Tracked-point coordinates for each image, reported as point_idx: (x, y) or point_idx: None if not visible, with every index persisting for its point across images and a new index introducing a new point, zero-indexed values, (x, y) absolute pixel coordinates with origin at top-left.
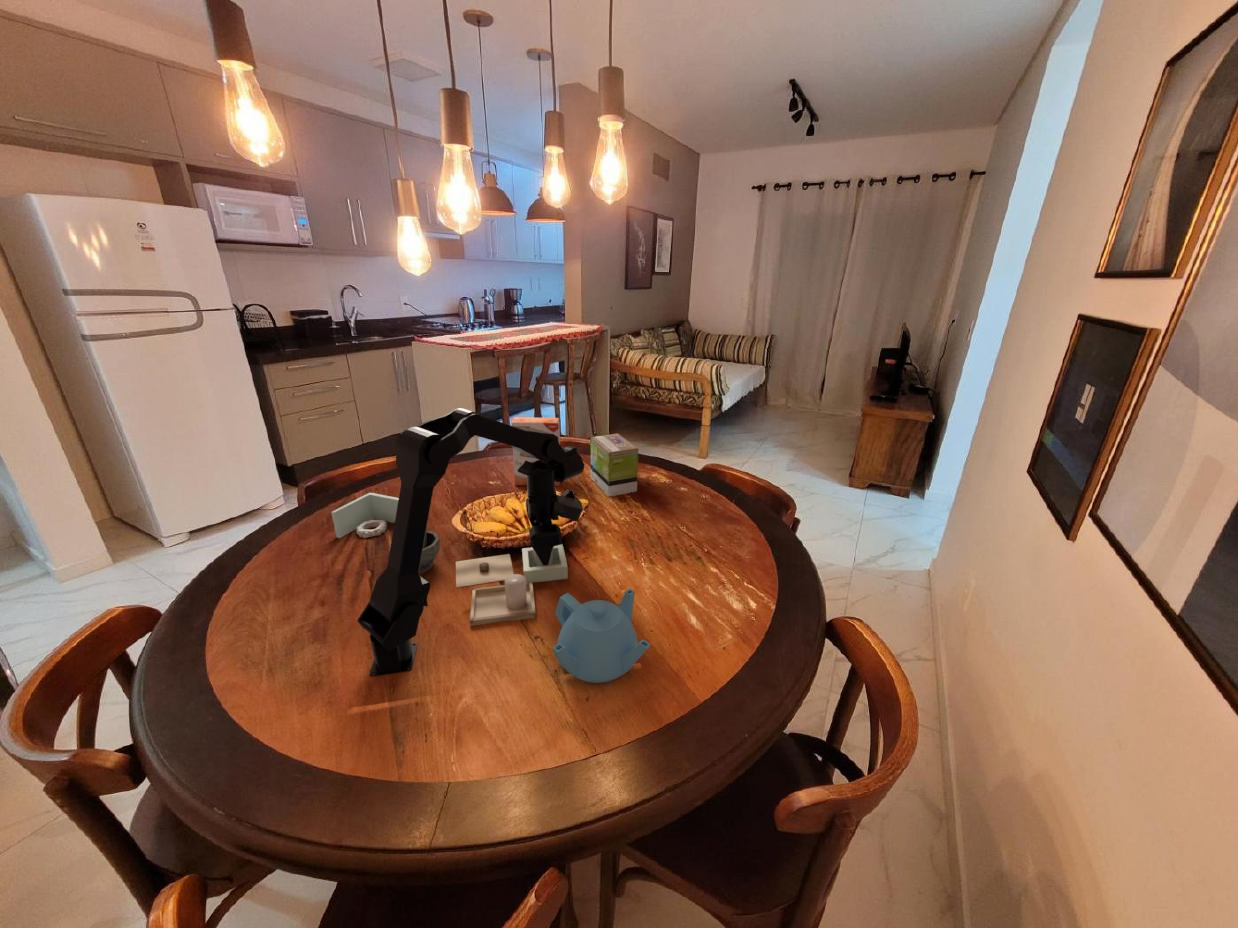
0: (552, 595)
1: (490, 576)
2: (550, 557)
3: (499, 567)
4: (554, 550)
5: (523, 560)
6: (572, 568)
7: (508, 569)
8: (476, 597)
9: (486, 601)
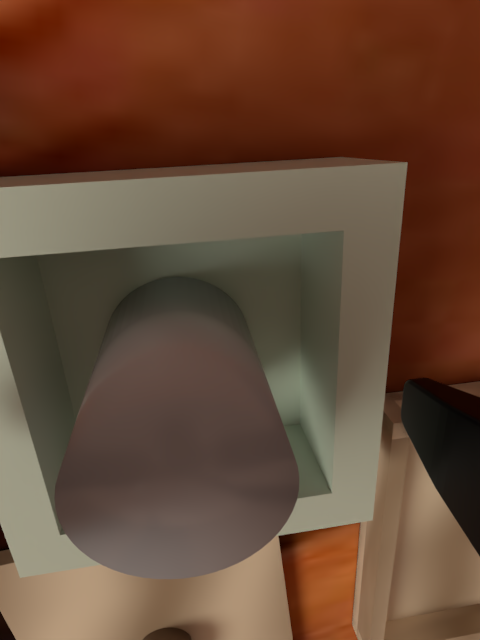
0: (475, 276)
1: (235, 608)
2: (239, 348)
3: (149, 589)
4: (4, 289)
5: None
6: (168, 94)
7: None
8: (391, 617)
9: (434, 579)
